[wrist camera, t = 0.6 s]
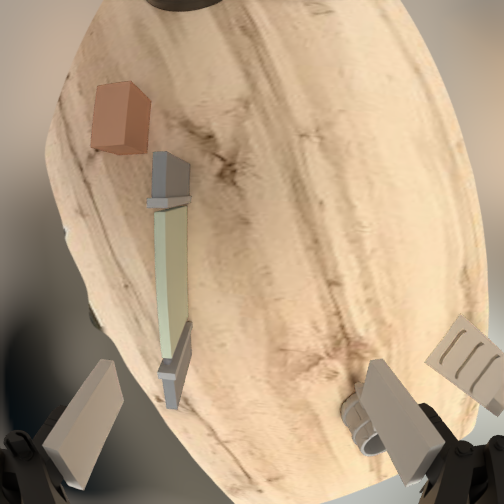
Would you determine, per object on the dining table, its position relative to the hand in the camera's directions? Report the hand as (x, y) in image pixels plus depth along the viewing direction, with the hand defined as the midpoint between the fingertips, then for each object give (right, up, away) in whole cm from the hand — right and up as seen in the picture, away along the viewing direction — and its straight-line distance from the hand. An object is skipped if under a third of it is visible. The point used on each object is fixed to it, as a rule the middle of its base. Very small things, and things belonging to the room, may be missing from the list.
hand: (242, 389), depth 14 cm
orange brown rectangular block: (-14, +23, +20) cm, 33 cm away
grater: (+37, -11, +29) cm, 48 cm away
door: (-9, +5, +23) cm, 25 cm away
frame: (-8, +5, +23) cm, 25 cm away
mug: (+18, -17, +29) cm, 38 cm away
